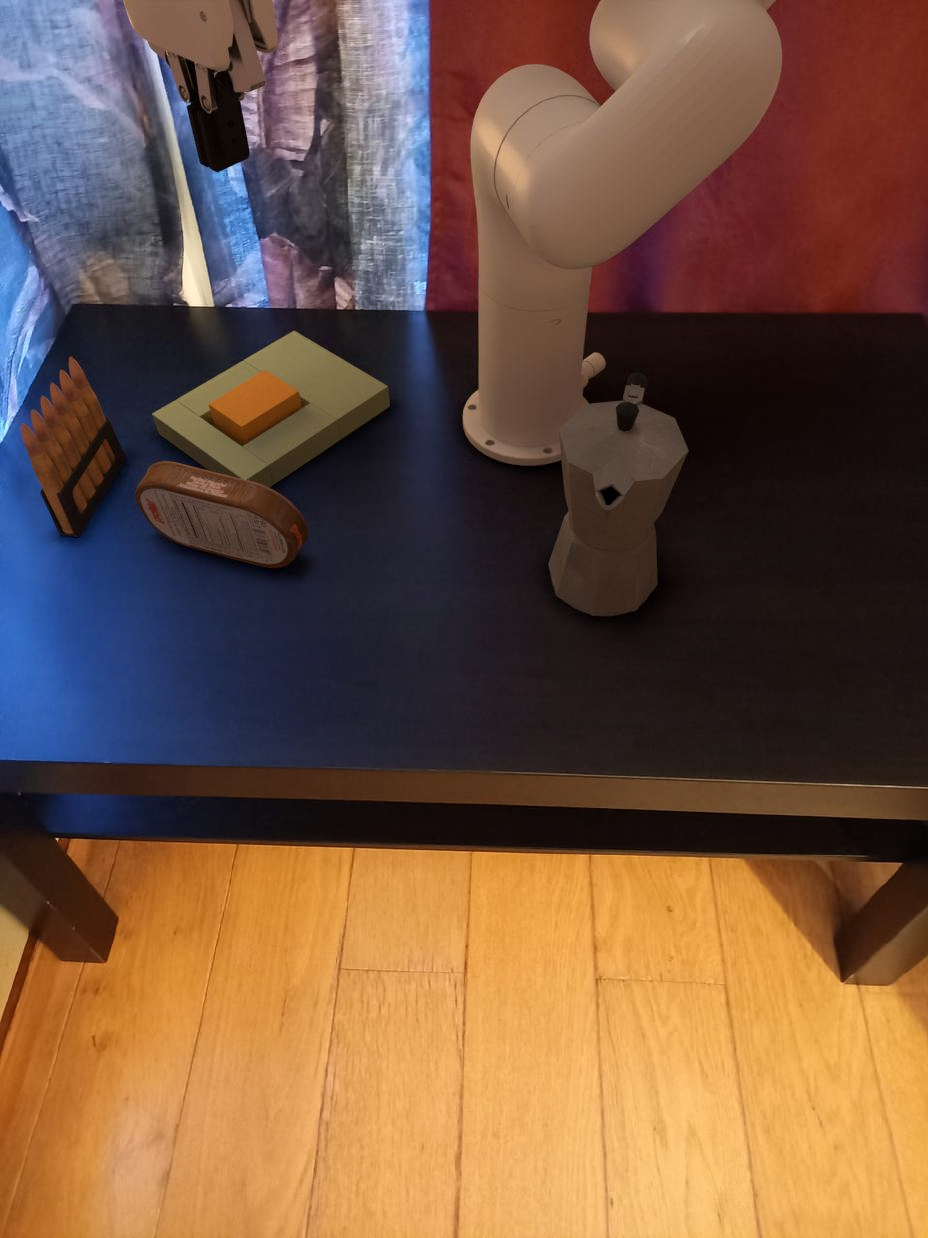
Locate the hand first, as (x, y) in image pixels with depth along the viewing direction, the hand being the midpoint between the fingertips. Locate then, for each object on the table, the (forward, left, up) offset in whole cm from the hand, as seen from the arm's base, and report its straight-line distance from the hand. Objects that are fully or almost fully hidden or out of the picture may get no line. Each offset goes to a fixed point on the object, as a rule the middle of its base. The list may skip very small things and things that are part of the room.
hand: (225, 161), depth 65 cm
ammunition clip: (+14, -11, -29) cm, 34 cm away
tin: (+10, +4, -29) cm, 31 cm away
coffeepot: (-10, +29, -29) cm, 42 cm away
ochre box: (-2, -7, -29) cm, 30 cm away
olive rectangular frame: (-4, -7, -29) cm, 30 cm away
